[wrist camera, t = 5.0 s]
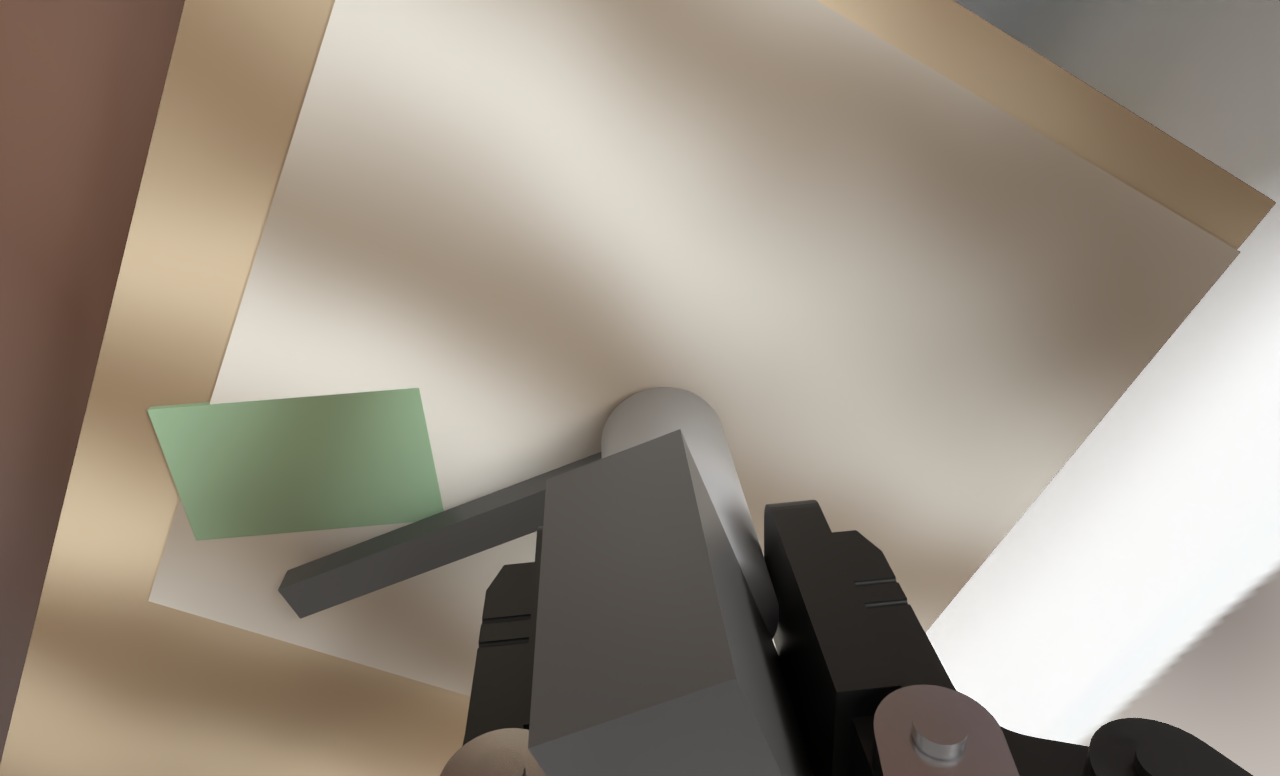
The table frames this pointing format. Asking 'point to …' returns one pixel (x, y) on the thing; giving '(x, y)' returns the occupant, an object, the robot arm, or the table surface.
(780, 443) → the dial board
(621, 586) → the lever
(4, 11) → the table surface
